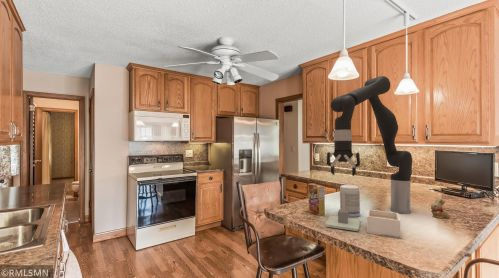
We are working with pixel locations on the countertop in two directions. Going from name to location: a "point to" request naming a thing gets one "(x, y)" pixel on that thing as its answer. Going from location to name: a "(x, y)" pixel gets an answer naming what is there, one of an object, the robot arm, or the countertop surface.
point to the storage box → (383, 223)
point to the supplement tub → (350, 199)
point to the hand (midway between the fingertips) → (343, 175)
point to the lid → (343, 221)
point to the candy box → (316, 199)
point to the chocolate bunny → (439, 210)
